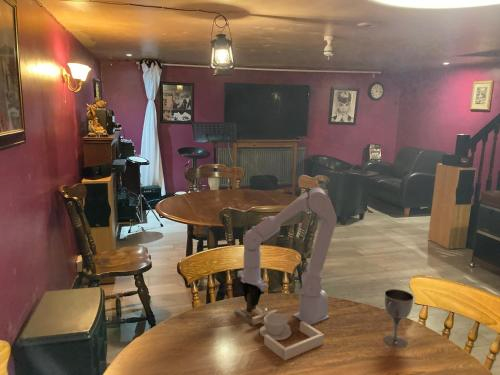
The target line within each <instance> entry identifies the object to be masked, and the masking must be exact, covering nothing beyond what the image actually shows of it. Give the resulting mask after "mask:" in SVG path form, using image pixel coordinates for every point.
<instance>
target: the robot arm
mask: <svg viewBox="0 0 500 375" xmlns="http://www.w3.org/2000/svg"><path fill="white" fill-rule="evenodd" d="M310 209H311V210H312V211H313V212H314V213H315V214H317V216H318V217H319V219H320V222H319V226H318V229H317V233H316V237H315V239H314V244H313V247H312V251H311V255H310V259H309V261H308V263H307V266H306V268H305V270H304V271H303V272H302V274H301V277H300V279H301V288H300V289H299V302H298V304H299V306H298V312H295V313H293V315H292V316H293V317H295V318H297V319H298V320H300V322H301V321H303V322H305V323H307V324H308V325H310V326H311V325H314V324H316V323H319V322H321V321H324V320H326V319H329V318H330V316H329V315H328V309H329V297H328V294H327V292H326V291H325V290H324V289H322V283H321V281H322V278H323V277H322V276H323V270H324V265H325V262H326V258H327V255H328V251H329V248H330V246H331V245H330V244H331V241H332V239H333V238H332V237H333V234H334V231H335V227H336V223H337V220H338V217H337V214H336V211H335V208H334V206H333V203H332V201H331V198H330V196H329V195H328V193H327V192H326V191H325V189H324V188H321V187H319V186H314V187H312V188H309V190H308V191H305V192H303V193H302V194H301V195H300V196H298V197H297V198H296V199H294V200H293V201H292V202H290V203H289V204H288V205H287V206H286V207H285V208H283V209H282V210H281V211H280V212H279V213H277V214H276V215H269V216H264V217H263V218H262V221H261V222H259V223H258V224H256V225H253V226H251V228H250V229H249V230H247V231H246V232H245V234H244V237H243V240H242V244H243V270H239V271H237V278H241V279H240V281H239V282H238V284H239V287H240V288H241V290H242V294H243V298H244V301H245V302H246V303H247V294H248V293H250V296H251V305H252V306H256V305H257V306H258V304H259V301H260V298H261V295H262V294H263V292H265V291H268V284H267V283H266V282H265V281H264V280H263V279H262V277H261V258H262V254H261V253H262V252H261V244H262V242H265V241H267V240H268V239H269V238H271V237H272V236H274V235H275V234H276V233H278V232H279V231H280V230H281V225H282V224H283V223H285V222H286V221H288V220H289V219H291V218H292V217H294V216H296V215H297V214H298V213H300V212H310Z"/></svg>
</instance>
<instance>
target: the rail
mask: <svg viewBox="0 0 500 375" xmlns="http://www.w3.org/2000/svg"><path fill="white" fill-rule="evenodd" d="M256 308H258V309H259V310H261V311H262V312H263V313H267V312H268V311H265V310H264V309H262V307H260V306H258V305H256ZM234 310H235V311H234V312H235V313H236V314H237V315H239V316H240V317H241V318H242V319H244V320H245V321H247V322H248V323H249V324H250V325H252V326H257V324H255V325H254V324H252V318H250V317H249V316H247V315H246V314H245V313H243V312H242V311H240V309H239V308H235V309H234Z"/></svg>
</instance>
